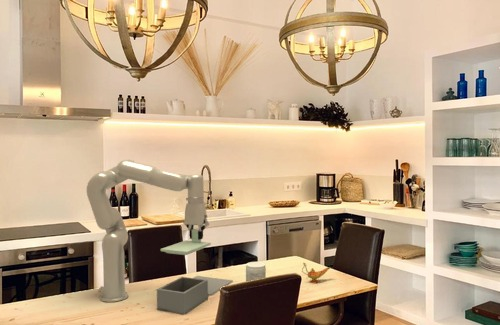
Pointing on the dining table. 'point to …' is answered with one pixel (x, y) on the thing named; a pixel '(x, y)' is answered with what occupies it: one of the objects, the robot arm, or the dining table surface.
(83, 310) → the dining table surface
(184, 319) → the dining table surface
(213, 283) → the mat
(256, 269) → the supplement tub
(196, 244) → the lid
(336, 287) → the dining table surface
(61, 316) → the dining table surface
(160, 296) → the parts tub
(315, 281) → the magic lamp
